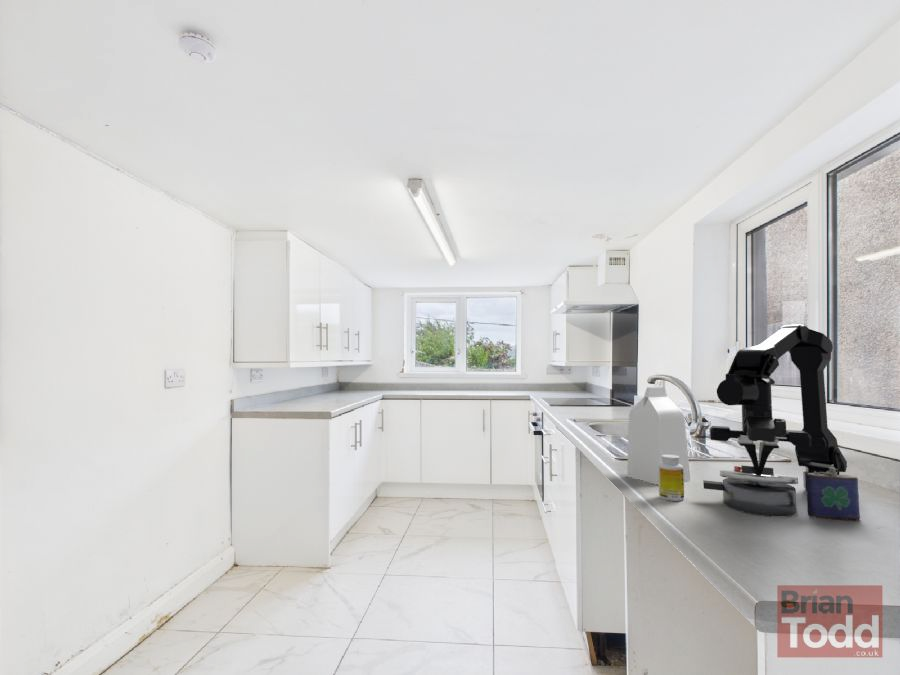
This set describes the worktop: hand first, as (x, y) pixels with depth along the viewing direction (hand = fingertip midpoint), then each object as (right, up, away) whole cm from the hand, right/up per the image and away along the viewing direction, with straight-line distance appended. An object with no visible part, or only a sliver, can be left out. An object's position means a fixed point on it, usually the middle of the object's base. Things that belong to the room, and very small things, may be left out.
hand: (758, 474), depth 104 cm
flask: (+13, -8, -5) cm, 16 cm away
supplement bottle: (-15, -9, +9) cm, 20 cm away
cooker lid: (+2, -2, +3) cm, 4 cm away
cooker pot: (0, -8, +4) cm, 9 cm away
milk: (-10, -10, +29) cm, 32 cm away
